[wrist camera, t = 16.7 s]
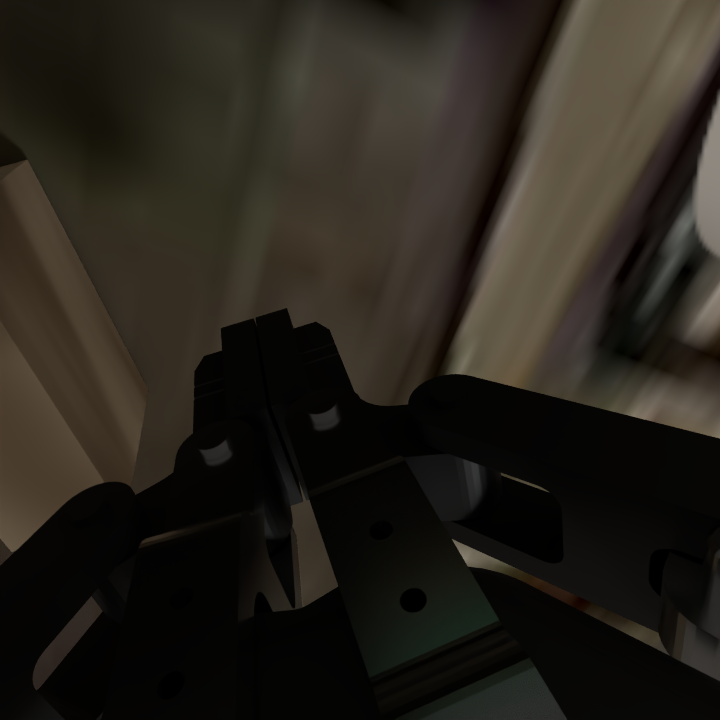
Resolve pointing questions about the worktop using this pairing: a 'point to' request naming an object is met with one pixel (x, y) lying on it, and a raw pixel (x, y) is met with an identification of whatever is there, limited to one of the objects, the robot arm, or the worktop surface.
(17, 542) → the block
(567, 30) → the worktop surface
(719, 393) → the worktop surface
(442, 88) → the worktop surface
